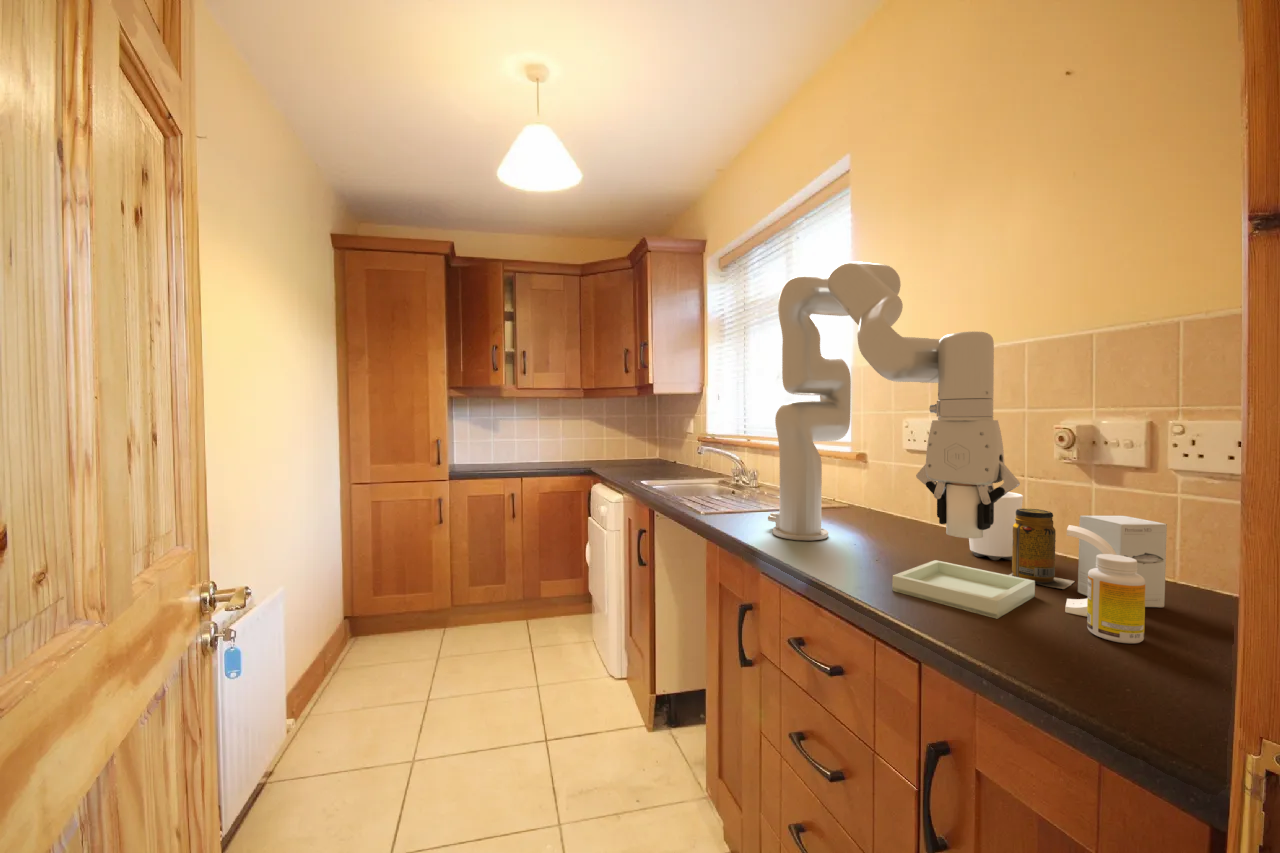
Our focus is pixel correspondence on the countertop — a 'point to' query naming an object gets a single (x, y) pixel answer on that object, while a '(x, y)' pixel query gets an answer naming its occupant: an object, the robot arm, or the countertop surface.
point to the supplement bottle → (1116, 599)
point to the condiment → (1035, 548)
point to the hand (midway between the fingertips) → (964, 524)
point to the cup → (999, 530)
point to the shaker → (962, 510)
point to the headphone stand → (1081, 604)
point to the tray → (965, 587)
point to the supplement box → (1128, 551)
